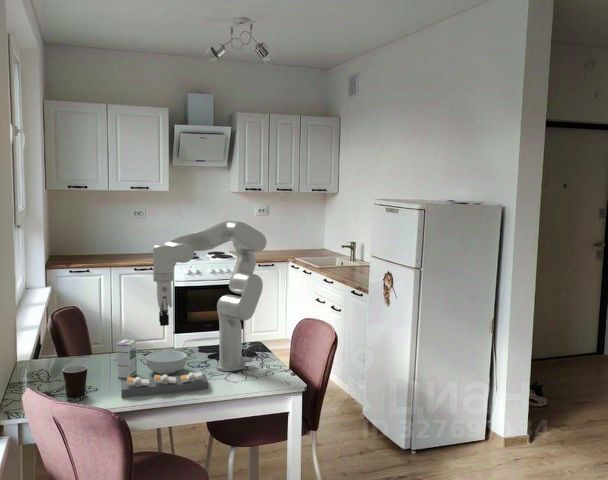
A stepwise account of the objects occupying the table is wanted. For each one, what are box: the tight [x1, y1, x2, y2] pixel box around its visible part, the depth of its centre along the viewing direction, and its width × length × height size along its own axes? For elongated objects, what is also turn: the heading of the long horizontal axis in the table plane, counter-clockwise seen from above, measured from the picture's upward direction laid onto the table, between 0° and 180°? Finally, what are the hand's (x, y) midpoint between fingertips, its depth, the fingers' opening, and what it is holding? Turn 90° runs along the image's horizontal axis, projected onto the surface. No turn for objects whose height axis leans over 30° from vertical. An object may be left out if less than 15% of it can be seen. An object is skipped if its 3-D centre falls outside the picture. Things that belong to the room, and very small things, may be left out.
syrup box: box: [115, 339, 138, 379], centre depth 234 cm, size 6×6×14 cm
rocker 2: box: [180, 371, 203, 383], centre depth 220 cm, size 8×4×2 cm, turn 107°
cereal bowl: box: [145, 350, 188, 376], centre depth 240 cm, size 17×17×7 cm
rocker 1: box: [126, 376, 150, 387], centre depth 215 cm, size 8×4×2 cm, turn 107°
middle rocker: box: [153, 374, 176, 384], centre depth 217 cm, size 8×4×2 cm, turn 107°
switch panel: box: [120, 373, 209, 399], centre depth 220 cm, size 32×10×3 cm, turn 107°
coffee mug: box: [62, 364, 88, 399], centre depth 214 cm, size 12×9×10 cm
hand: (164, 323), depth 219 cm, fingers open, 4 cm apart
